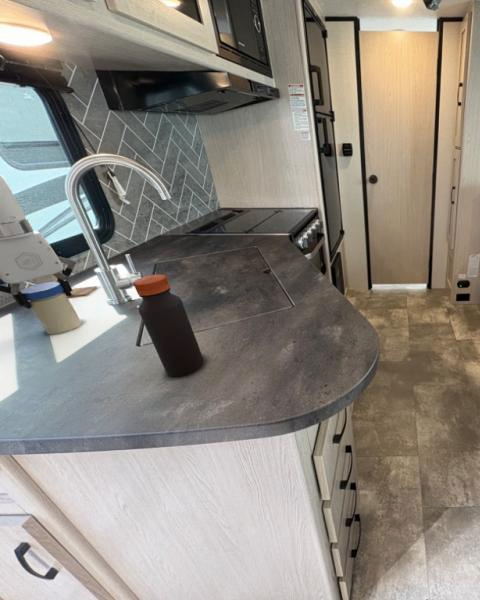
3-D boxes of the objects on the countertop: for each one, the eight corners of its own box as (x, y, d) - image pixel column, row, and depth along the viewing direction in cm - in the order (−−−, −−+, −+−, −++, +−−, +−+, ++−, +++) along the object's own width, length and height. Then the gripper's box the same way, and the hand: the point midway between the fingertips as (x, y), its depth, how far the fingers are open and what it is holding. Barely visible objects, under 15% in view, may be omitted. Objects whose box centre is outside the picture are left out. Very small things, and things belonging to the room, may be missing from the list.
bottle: (205, 369, 65) (171, 281, 56) (166, 382, 62) (123, 290, 53) (203, 353, 70) (172, 269, 61) (167, 364, 67) (128, 277, 58)
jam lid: (38, 290, 79) (33, 283, 78) (70, 287, 81) (67, 280, 80) (16, 302, 73) (11, 295, 72) (52, 298, 75) (47, 291, 74)
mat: (63, 298, 97) (62, 296, 97) (75, 290, 103) (74, 288, 102) (86, 295, 99) (85, 293, 99) (97, 287, 104) (96, 286, 104)
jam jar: (39, 336, 78) (15, 298, 73) (57, 323, 83) (35, 287, 79) (71, 331, 79) (49, 294, 74) (87, 319, 85) (67, 283, 80)
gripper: (-51, 242, 61) (2, 320, 69) (64, 223, 75) (98, 290, 83) (-61, 237, 65) (-8, 313, 73) (52, 220, 78) (85, 285, 86)
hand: (48, 300), depth 78 cm, fingers closed on jam lid, 6 cm apart
